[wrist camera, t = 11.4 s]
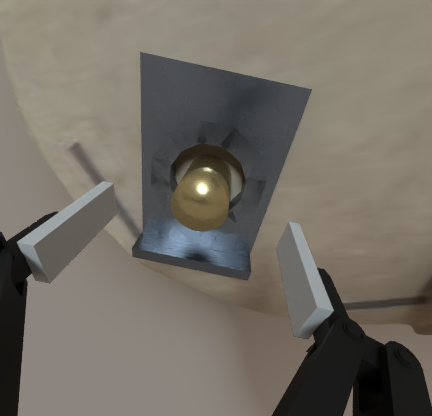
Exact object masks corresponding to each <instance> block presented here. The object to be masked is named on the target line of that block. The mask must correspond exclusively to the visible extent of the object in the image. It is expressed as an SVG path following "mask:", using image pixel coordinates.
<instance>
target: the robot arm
mask: <svg viewBox="0 0 432 416" xmlns="http://www.w3.org/2000/svg"><path fill="white" fill-rule="evenodd" d="M116 214H117V211H116V202H115V193H114V183H109V182H104V181H103V182H101V183H100V184H99V185H97V186H96V187H94V188H93V189H92V190H90V191H89V192H87V193H86V194H84V195H83V196H82V197H80V198H79V199H77V200H76V201H74V202H73V203H72V204H70V205H69V206H67V207H66V208H65V209H63V210H62V211H60V212H53V213H51V214H48V215H45V216H44V217H42V218H41V219H39V220H38V221H37V222H35V223H33V224H32V225H31V226H30V227H27V228H26V229H24V230H23V231H21V232H20V233H18V234H17V235H15V236H14V237H12V238H11V239H9V240H8V241H6V240H5V238H4V236H3V234H2V232H0V416H17V414H18V402H19V389H20V375H21V363H22V350H23V337H24V323H25V310H26V296H27V285H28V284H27V280H26V278H27V277H28V276H29V275H30V274H33V276H34V278H35V280H36V281H40V282H45V283H49V284H50V283H51V282H52V281H53V280H54V279H55V278H56V276H58V274H59V273H60V272H61V271H62V270H63V269H64V268H65V267H66V266H67V265H68V264H69V263H70V262H71V261H72V260H73V259H74V258H75V257H76V256H77V255H78V254H79V253H80V252H81V250H83V249H84V247H85V246H86V245H87V244H88V243H89V242H90V241H91V240H92V239H93V238H94V237H95V236H96V235H97V234H98V233H99V232H100V231H101V230H102V229H103V228H104V227H105V226H106V225H107V224H108V223H109V222H110V220H111V219H112V218H113V217H114V216H115V215H116ZM276 251H277V256H278V261H279V266H280V271H281V276H282V281H283V286H284V291H285V296H286V301H287V306H288V311H289V316H290V320H291V325H292V331H293V336H294V337H299V338H304V339H309V337H310V336H311V335H312V334H313V336H314V339H315V343H314V344H313V345H312V346H311V347H310V348H309V349H308V350H307V352H308V353H307V355H306V357H305V359H304V360H303V362H302V364H301V366H300V367H299V369H298V371H297V373H296V374H295V376H294V378H293V379H292V381H291V383H290V385H289V386H288V388H287V390H286V392H285V393H284V395H283V397H282V399H281V400H280V402H279V404H278V405H277V407H276V409H275V411H274V412H273V415H272V416H343V414H344V411H345V408H346V405H347V402H348V399H349V396H350V393H351V389H352V387H353V416H432V406H431V402H430V398H429V394H428V390H427V385H426V382H425V377H424V373H423V369H422V367H421V364H420V363H419V361H418V360H417V358H416V357H415V356H414V354H413V353H412V352H410V350H409V349H407V348H406V347H404V346H403V345H402V344H399V343H397V342H395V341H389V342H388V343H387V344H385V345H384V344H382V343H380V342H378V341H376V340H374V339H372V338H370V337H368V336H366V335H365V333H364V331H363V330H362V328H361V327H360V326H359V325H358V324H357V323H356V322H354V321H353V320H351V319H350V318H349V317H348V315H347V312H346V310H345V308H344V306H343V303H342V301H341V299H340V297H339V295H338V293H337V290H336V288H335V286H334V284H333V281H332V279H331V277H330V276H329V275H328V273H327V272H326V271H325V270H324V269H320V268H317V267H316V265H315V262H314V260H313V257H312V255H311V252H310V250H309V247H308V245H307V242H306V240H305V237H304V235H303V232H302V230H301V227H300V225H299V224H298V223H293V222H288V224H287V226H286V229H285V231H284V233H283V235H282V237H281V239H280V241H279V243H278V245H277V247H276Z"/></svg>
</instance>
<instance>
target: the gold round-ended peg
mask: <svg viewBox="0 0 432 416" xmlns="http://www.w3.org/2000/svg"><path fill="white" fill-rule="evenodd" d="M230 189H231V171H230V168H229V166H228V165H227V163H226V162H225V161H224V160H222V159H221V158H219V157H217V156H213V155H204V156H201V157H198V158H197V159H195V160H194V161H193V162H192V164H191V165H190V167H189V168H188V170H187V172H186V173H185V175H184V176H183V178H182V180H181V181H180V183H179V185H178V186H177V188H176V189H175V191H174V193H173V195H172V197H171V210H172V213H173V215H174V217H175V218H176V219H177V220H178V221H179V222H180V223H181V224H182V225H183V226H185V227H187V228H189V229H191V230H195V231H210V230H213V229H216V228H217V227H219V226H220V225H222V224H223V223H224V221H225V220H226V218H227V216H228V212H229V201H230Z"/></svg>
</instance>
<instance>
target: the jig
mask: <svg viewBox="0 0 432 416" xmlns="http://www.w3.org/2000/svg"><path fill="white" fill-rule="evenodd" d="M140 60H141V133H142V206H143V232H142V234H141V235H140V237H139V238H138V240H137V241H136V243H135V244H134V246H133V247H132V254H133V257H136V258H141V259H145V260H150V261H155V262H160V263H165V264H170V265H175V266H180V267H184V268H189V269H194V270H199V271H204V272H209V273H214V274H218V275H223V276H228V277H233V278H238V279H243V280H248V278H249V276H250V273H251V265H250V252H251V249H252V247H253V244H254V241H255V239H256V236H257V233H258V231H259V228H260V225H261V223H262V220H263V218H264V215H265V212H266V210H267V207H268V204H269V202H270V199H271V196H272V194H273V191H274V189H275V186H276V183H277V181H278V178H279V175H280V173H281V170H282V167H283V165H284V162H285V159H286V157H287V154H288V152H289V149H290V146H291V144H292V141H293V138H294V136H295V133H296V130H297V128H298V125H299V122H300V120H301V117H302V115H303V112H304V109H305V107H306V104H307V101H308V99H309V96H310V93H311V91H312V89H307V88H302V87H298V86H293V85H289V84H284V83H280V82H275V81H270V80H266V79H261V78H257V77H252V76H248V75H243V74H238V73H234V72H229V71H225V70H220V69H215V68H211V67H206V66H202V65H197V64H193V63H188V62H183V61H179V60H174V59H170V58H165V57H161V56H156V55H151V54H147V53H142V52H140ZM202 143H203V144H208V145H212V146H217V147H222V148H225V149H226V150H227V151H228V152H229V153H230V154H232V155H233V156H234V157H235V158H236V159H237V160H238V161H239V162H240V163H241V166H242V169H243V172H244V176H245V180H244V183H243V187H242V190H241V192H240V193H239V194H238V195H237V196H236V197H235V198H234V199H233V200H232V201H230V202H229V212H228V216H227V218H226V220H225V221H224V223H223V224H222V225H220V226H219V227H217V228H216V229H213V230H210V231H195V230H191V229H189V228H187V227H185V226H183V225H182V224H181V223H180V222H179V221H178V220H177V219H176V218H175V217H174V215H173V213H172V210H171V197H172V195H173V193H174V191H175V189H176V188H177V186H178V184H177V182H176V180H175V178H174V176H175V163H176V159H177V158H178V156H179V155H180V154H181V152H182V151H183V150H185V149H188V148H191V147H194V146H197V145H199V144H202Z"/></svg>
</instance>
